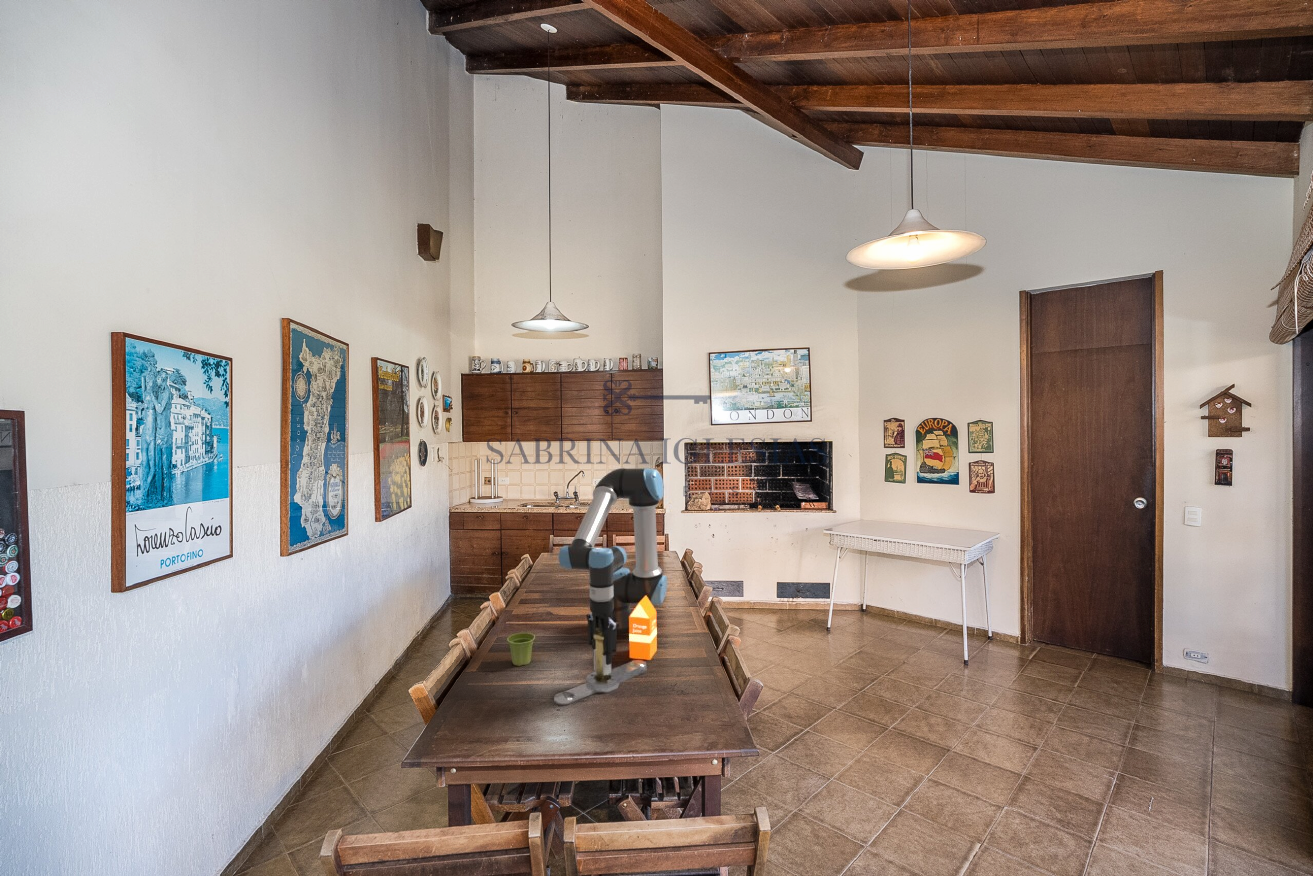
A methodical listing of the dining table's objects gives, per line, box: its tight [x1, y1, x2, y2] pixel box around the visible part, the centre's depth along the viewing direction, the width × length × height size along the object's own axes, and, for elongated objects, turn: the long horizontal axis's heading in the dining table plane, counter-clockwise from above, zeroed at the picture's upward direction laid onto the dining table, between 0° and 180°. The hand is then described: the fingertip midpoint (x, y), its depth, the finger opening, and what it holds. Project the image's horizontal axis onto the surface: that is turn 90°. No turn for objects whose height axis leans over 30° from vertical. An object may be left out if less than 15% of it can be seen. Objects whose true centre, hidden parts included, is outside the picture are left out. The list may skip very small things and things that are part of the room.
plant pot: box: [506, 632, 536, 667], centre depth 204 cm, size 9×9×9 cm
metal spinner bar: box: [553, 659, 647, 706], centre depth 186 cm, size 35×10×2 cm, turn 133°
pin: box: [594, 632, 609, 681], centre depth 186 cm, size 5×5×15 cm
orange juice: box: [628, 596, 658, 661], centre depth 209 cm, size 8×9×20 cm
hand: (602, 671), depth 186 cm, fingers closed on pin, 4 cm apart
